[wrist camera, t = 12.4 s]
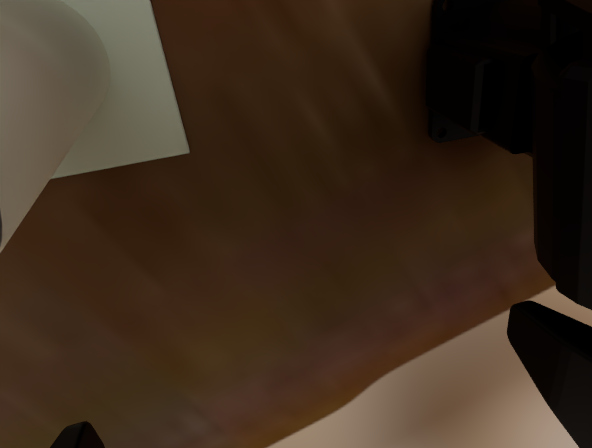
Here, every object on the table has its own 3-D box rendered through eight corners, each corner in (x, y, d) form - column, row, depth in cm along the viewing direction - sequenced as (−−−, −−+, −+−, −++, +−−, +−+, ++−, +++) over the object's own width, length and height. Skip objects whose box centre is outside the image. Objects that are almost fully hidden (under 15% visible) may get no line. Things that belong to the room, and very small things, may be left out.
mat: (124, -97, 15) (123, -99, 15) (189, 149, 20) (189, 153, 19) (-161, -61, 14) (-170, -63, 14) (-23, 189, 19) (-27, 193, 18)
